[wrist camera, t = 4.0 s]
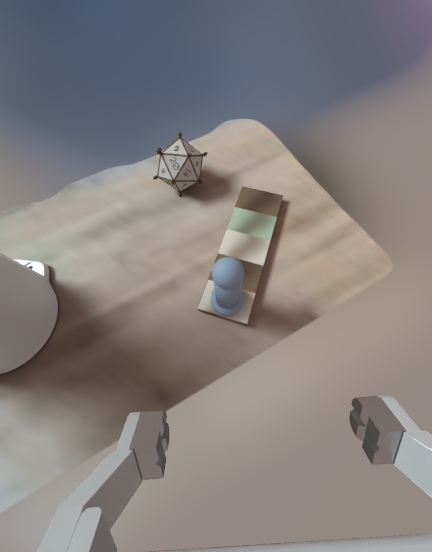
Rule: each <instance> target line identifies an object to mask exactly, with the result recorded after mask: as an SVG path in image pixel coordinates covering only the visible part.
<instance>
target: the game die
mask: <svg viewBox="0 0 432 552" xmlns="http://www.w3.org/2000/svg"><path fill="white" fill-rule="evenodd" d="M157 153H158V154H160V160H159V167H158V174H157V176H154V178H153V179H157V178H160V179H161V180H163V181H164V182H166V183H167V184H169V185H170V186H172V187H173V188H175V189H176V190H178V191H179V196H181V195H182V194H181V191H183V190H185V189H186V188H188V187H190V186H192V185H193V184H195V183H197V182H199V183H200V184H203V183H202V181H201V180H200V174H201V167H202V160H203V156H206V155H207V153H206V152H205V153H203V154H201V153H200V152H199V151H197V150H196V149H195V148H193V147H192V146H191V145H190V144H188V143H187V142H186V141H184V140H183V139H182V138H181V132H179V138H178V139H176V140H175V141H174V142H173V143H171V144H170V145H168V146H167V147H166V148H164V149H163V150H162V149H160V148H158V150H157Z"/></svg>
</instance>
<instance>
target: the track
mask: <svg viewBox="0 0 432 552" xmlns="http://www.w3.org/2000/svg"><path fill="white" fill-rule="evenodd" d="M282 198H283V196H282V195H278V194H274V193H269V192H265V191H260V190H256V189H252V188H247V187H243V186H242V189H241V192H240V195H239V197H238V200H237V203H236V205H235V208H234V211H233V214H232V216H231V219H230V222H229V225H228V227H227V230H226V233H225V236H224V238H223V241H222V244H221V247H220V249H219V252H218V255H217V258H216V260H215V263H216V262H217V261H218V260H219V259H221V258H224V257H232V258H235V259H237V260H238V261H239V262H240V263H241V264H242V266H243V268H244V279H243V281H242V286H241V290H242V292H243V295H244V301H243V305H242V308H241V309H240V311H239V312H238V313H237V314H235V315H233V316H222V315H220V314H218V313H217V312H216V311H215V310H214V309H213V307H212V304H211V293H212V291H213V289H214V282H213V278H212V271H211V274H210V277H209V280H208V282H207V285H206V288H205V291H204V293H203V296H202V299H201V301H200V304H199V307H198V310H199V311H201V312H205V313H208V314H211V315H214V316H217V317H220V318H224V319H227V320H230V321H233V322H236V323H239V324H243V325H246V326H247V323H248V319H249V316H250V312H251V308H252V305H253V301H254V298H255V294H256V291H257V287H258V283H259V280H260V276H261V273H262V269H263V266H264V262H265V258H266V255H267V251H268V248H269V244H270V241H271V237H272V233H273V230H274V226H275V223H276V219H277V216H278V212H279V208H280V205H281V201H282ZM215 263H214V264H215Z"/></svg>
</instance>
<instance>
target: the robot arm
mask: <svg viewBox="0 0 432 552" xmlns="http://www.w3.org/2000/svg"><path fill="white" fill-rule="evenodd" d="M57 314H58V302H57V297H56V294H55V292H54V290H53V288H52V287H51V285H50V282H49V268H48V266H47V265H46V264H44V263H42V262H39V261H29V260H19V259H11V258H9V257H7V256H5V255H3V254H1V253H0V374H2V373H6V372H9V371H11V370H13V369H15V368H17V367H19V366H21V365H23V364H24V363H26V362H27V361H28V360H30V359H31V358H32V357H33V356H34V355H35V354H36V353H37V352H38V351H39V350H40V349H41V348H42V347H43V345H44V344H45V343H46V341H47V340H48V338H49V337H50V335H51V333H52V331H53V329H54V326H55V323H56V319H57ZM352 406H353V407H354V409H353V410H352V411H351V412H350V424H351V427H352V429H353V432H354V433H355V435H356V437H357V438H359V439H360V440H361V441H363V446H362V448H363V449H364V451H365V453H366V455H367V456H368V458H369V460H370V462H371V464H394V466H396V467H397V468H398V469H399V470H400V471H401V472H402V473H404V474H405V475H406V476H407V477H408V478H409V479H410V480H412V481H413V482H414V483H415V484H416V485H417V486H419V487H420V488H421V489H422V490H423V491H424V492H425V493H427V494H428V495H429V496H430V497H431V498H432V434H430V433H428V432H427V431H421V430H420V429H419V427H418V426H417V425H416V424H415V423H414V421H413V420H412V419H411V418H410V417H409V416H408V414H407V413H406V412H405V411H404V410H403V408H402V407H401V406H400V405H399V404H398V402H397V401H396V400H395V399H394V398H393V397H392V396H390V395H389V396H372V397H359V398H354V399H353V400H352ZM166 417H167V416H166V412H165V411H149V412H130V414H129V415H128V417H127V420H126V422H125V425H124V428H123V431H122V434H121V437H120V440H119V442H118V445H117V448H116V451H112V452H111V453H110V454H109V455H108V456H107V457H106V458H105V459H104V460H103V461H102V462H101V463H100V464H99V465H98V466H97V467H96V468H95V469H94V471H92V472H91V474H90V475H89V476H88V477H87V478H86V479H85V480H84V481H83V482H82V483H81V484H80V485H79V486H78V487H77V488H76V489H75V490H74V491H73V492H72V493H71V495H69V497H67V499H66V500H65V501H64V502H63V503H62V504H61V505H60V506H59V507H58V508H57V510H56V512H55V514H54V516H53V518H52V521H51V523H50V525H49V527H48V529H47V531H46V533H45V536H44V538H43V540H42V542H41V544H40V546H39V548H38V551H37V552H117V548H116V546H115V543H114V541H113V538H112V536H111V534H110V531H109V530H110V529H111V527H112V526H113V524H114V523H115V521H116V520H117V518H118V517H119V515H120V514H121V512H122V511H123V509H124V508H125V506H126V505H127V503H128V502H129V500H130V499H131V497H132V496H133V494H134V493H135V491H136V489H137V488H138V487H139V485H140V484H141V482H142V480H148V479H158V478H163V476H164V469H165V463H166V458H165V452H166V450H167V449H168V444H169V426H168V424H167V423H166ZM151 552H152V551H151ZM153 552H432V534H416V535H400V536H385V537H369V538H355V539H354V538H353V539H338V540H324V541H306V542H291V543H275V544H261V545H246V546H245V545H244V546H231V547H230V546H229V547H215V548H214V547H213V548H198V549H183V550H167V551H153Z"/></svg>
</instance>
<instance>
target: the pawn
mask: <svg viewBox="0 0 432 552" xmlns="http://www.w3.org/2000/svg"><path fill="white" fill-rule="evenodd" d="M212 278H213V282H214V289H213V291H212V293H211V304H212V307H213V309H214V310H215V311H216V312H217V313H218V314H220V315H222V316H233V315H235V314H237V313H238V312H239V311H240V309H241V308H242V305H243V301H244V295H243V292H242V290H241V286H242V281H243V279H244V268H243V266H242V264H241V263H240V262H239V261H238V260H237V259H235V258H232V257H224V258H221V259H219V260H218V261H217V262H216V263H215V264H214V266H213V268H212Z"/></svg>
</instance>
